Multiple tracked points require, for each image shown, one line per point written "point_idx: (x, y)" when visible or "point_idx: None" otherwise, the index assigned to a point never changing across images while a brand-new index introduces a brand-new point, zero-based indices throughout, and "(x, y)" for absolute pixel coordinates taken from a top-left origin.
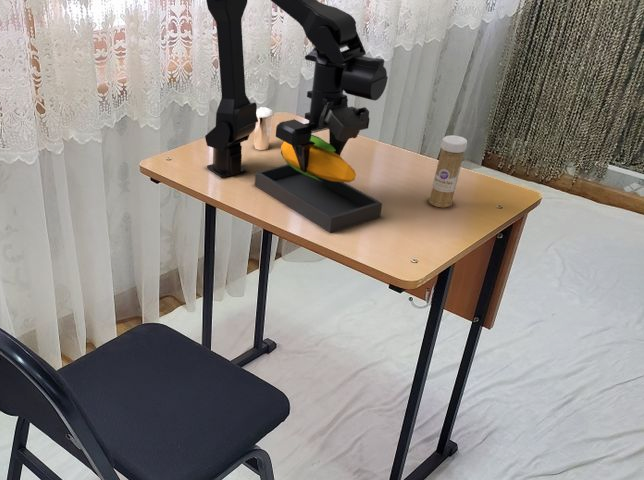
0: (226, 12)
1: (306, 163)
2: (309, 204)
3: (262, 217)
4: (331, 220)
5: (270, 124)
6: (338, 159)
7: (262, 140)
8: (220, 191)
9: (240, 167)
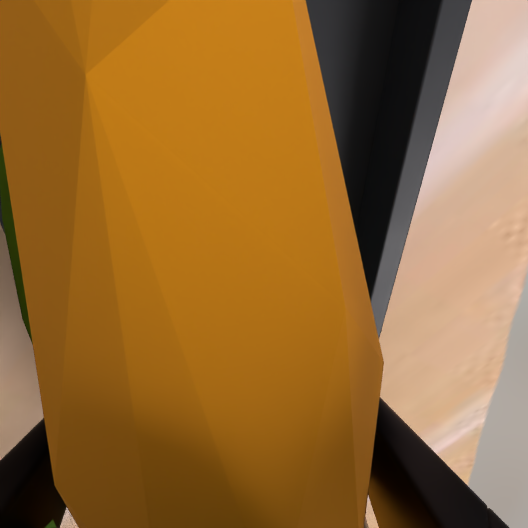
0: None
1: (409, 451)
2: (432, 143)
3: (516, 242)
4: None
5: None
6: (203, 369)
7: None
8: (437, 427)
9: None
